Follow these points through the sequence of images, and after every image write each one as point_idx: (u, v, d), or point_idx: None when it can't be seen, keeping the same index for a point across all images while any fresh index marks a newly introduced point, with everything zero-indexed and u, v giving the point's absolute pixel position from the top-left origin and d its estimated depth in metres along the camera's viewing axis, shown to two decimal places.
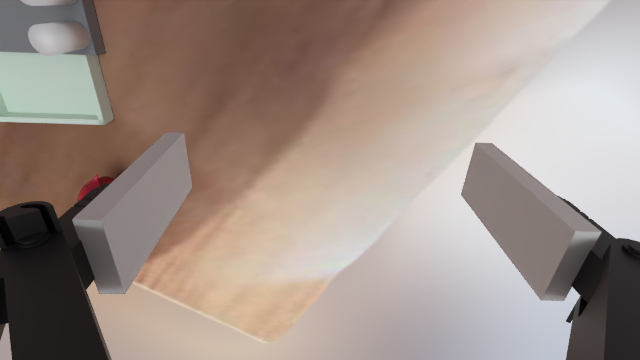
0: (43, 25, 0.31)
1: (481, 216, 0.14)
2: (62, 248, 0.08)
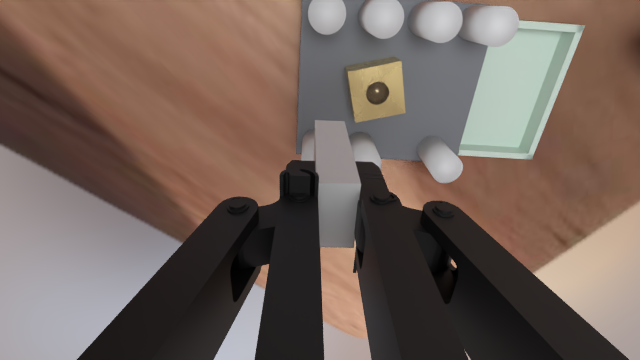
0: (483, 21, 0.25)
1: None
2: (314, 211, 0.10)
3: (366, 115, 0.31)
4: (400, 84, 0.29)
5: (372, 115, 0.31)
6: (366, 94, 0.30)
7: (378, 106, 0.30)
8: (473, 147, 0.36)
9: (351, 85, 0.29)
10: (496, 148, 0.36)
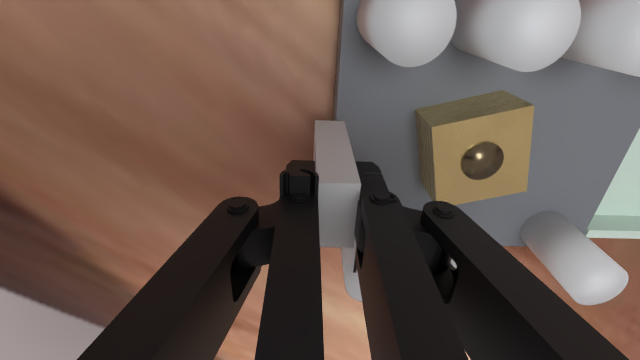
0: None
1: None
2: (314, 211, 0.10)
3: (457, 196, 0.17)
4: (525, 145, 0.16)
5: (468, 196, 0.17)
6: (461, 163, 0.16)
7: (480, 181, 0.17)
8: (606, 222, 0.23)
9: (436, 149, 0.16)
10: None
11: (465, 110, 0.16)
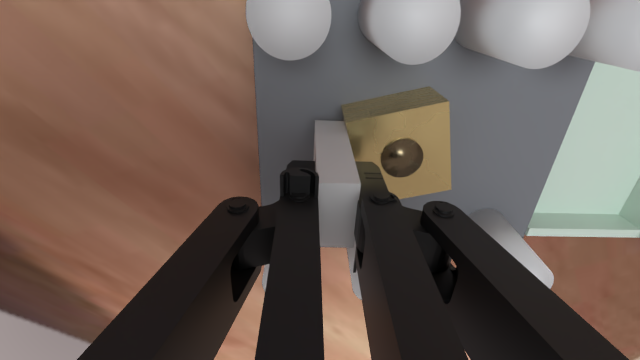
0: (635, 19, 0.11)
1: None
2: (314, 211, 0.10)
3: None
4: (445, 142, 0.16)
5: None
6: (380, 160, 0.16)
7: (402, 179, 0.17)
8: (549, 220, 0.22)
9: (353, 145, 0.16)
10: (585, 219, 0.23)
11: (385, 106, 0.16)
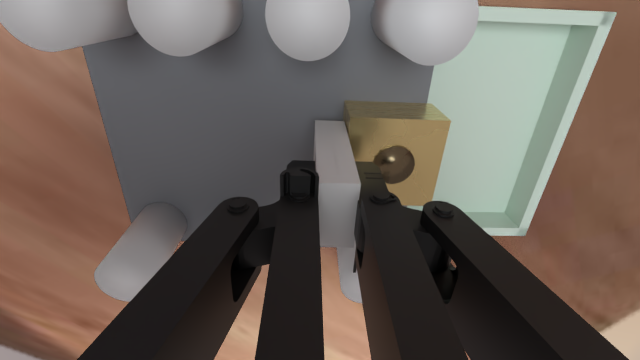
0: (399, 9, 0.11)
1: None
2: (314, 211, 0.10)
3: None
4: (436, 159, 0.16)
5: None
6: (373, 162, 0.16)
7: (389, 186, 0.17)
8: None
9: (351, 142, 0.16)
10: None
11: (389, 111, 0.16)
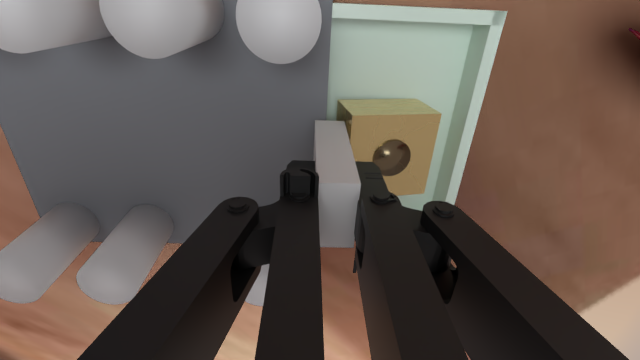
0: (238, 6, 0.11)
1: None
2: (314, 211, 0.10)
3: None
4: (429, 149, 0.18)
5: None
6: (373, 157, 0.17)
7: (387, 178, 0.18)
8: None
9: (353, 139, 0.16)
10: None
11: (383, 107, 0.17)
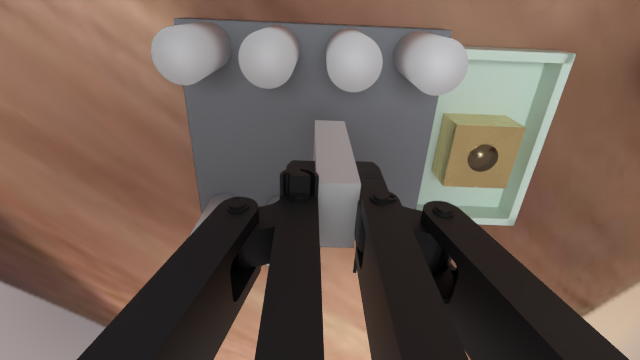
0: (415, 59, 0.17)
1: None
2: (314, 211, 0.10)
3: (459, 180, 0.24)
4: (513, 154, 0.23)
5: (466, 182, 0.24)
6: (468, 156, 0.23)
7: (477, 173, 0.24)
8: None
9: (455, 141, 0.23)
10: (467, 210, 0.28)
11: (479, 120, 0.23)
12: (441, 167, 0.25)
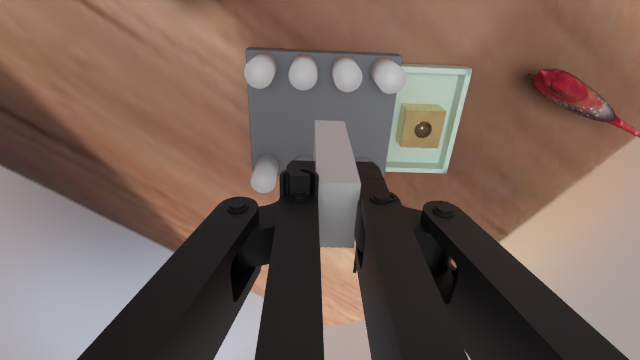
0: (378, 75, 0.33)
1: None
2: (314, 211, 0.10)
3: (410, 143, 0.41)
4: (440, 127, 0.40)
5: (414, 144, 0.41)
6: (414, 128, 0.40)
7: (420, 139, 0.40)
8: (398, 164, 0.44)
9: (406, 120, 0.39)
10: (418, 164, 0.44)
11: (421, 107, 0.40)
12: (400, 136, 0.41)
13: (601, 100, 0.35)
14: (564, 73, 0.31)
